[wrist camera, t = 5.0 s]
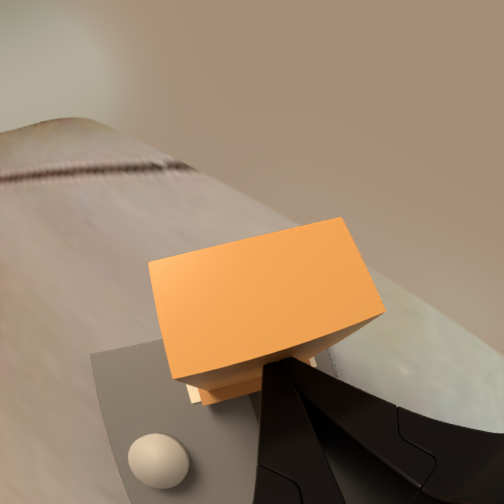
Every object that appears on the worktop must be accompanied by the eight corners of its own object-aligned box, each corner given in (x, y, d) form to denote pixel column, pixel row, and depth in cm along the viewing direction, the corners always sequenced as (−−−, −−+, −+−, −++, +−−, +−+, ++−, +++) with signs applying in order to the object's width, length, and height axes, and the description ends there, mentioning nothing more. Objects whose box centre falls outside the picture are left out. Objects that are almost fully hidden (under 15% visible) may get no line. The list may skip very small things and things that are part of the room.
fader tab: (309, 373, 13) (410, 330, 6) (204, 405, 12) (160, 414, 5) (285, 307, 15) (344, 194, 7) (184, 334, 14) (127, 242, 6)
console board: (381, 535, 10) (397, 546, 8) (186, 590, 8) (181, 607, 6) (302, 306, 17) (312, 293, 15) (98, 357, 14) (81, 350, 13)
